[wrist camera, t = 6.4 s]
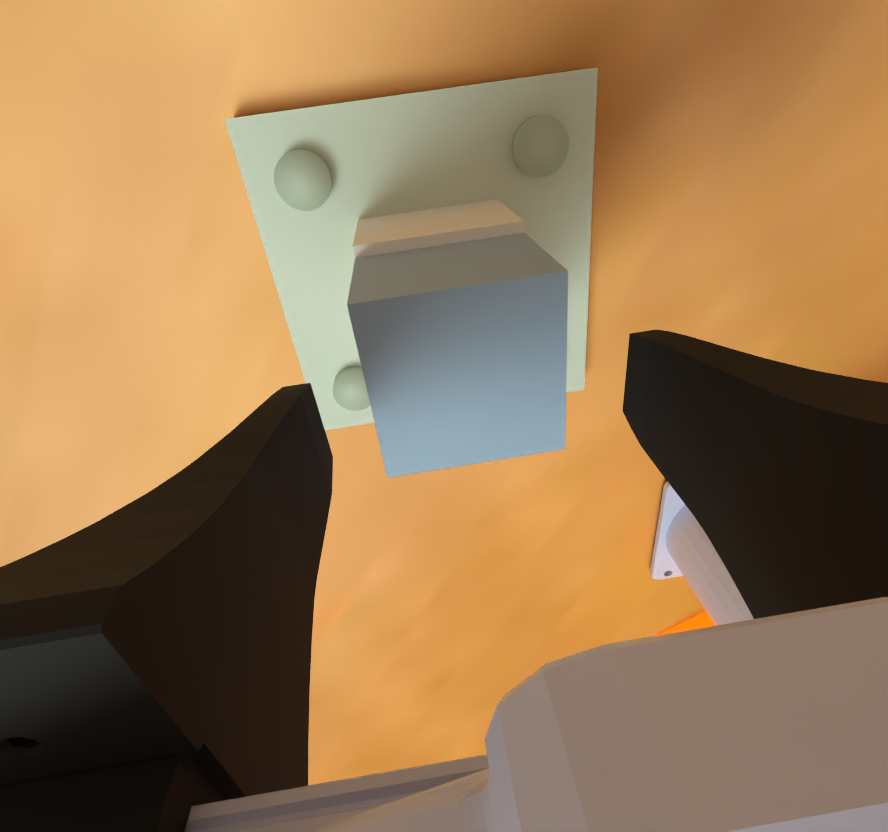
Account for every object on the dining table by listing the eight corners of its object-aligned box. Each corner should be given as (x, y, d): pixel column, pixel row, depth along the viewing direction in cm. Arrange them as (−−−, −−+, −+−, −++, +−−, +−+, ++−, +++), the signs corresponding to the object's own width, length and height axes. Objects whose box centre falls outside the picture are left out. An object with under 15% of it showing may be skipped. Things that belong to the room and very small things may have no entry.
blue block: (524, 232, 14) (568, 270, 11) (529, 381, 17) (565, 448, 14) (355, 258, 14) (346, 304, 11) (386, 404, 17) (387, 477, 14)
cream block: (496, 199, 18) (524, 221, 14) (503, 329, 20) (528, 373, 17) (358, 219, 17) (352, 246, 14) (383, 347, 20) (384, 396, 17)
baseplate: (587, 69, 17) (605, 65, 15) (576, 379, 23) (588, 396, 22) (232, 118, 16) (219, 119, 15) (322, 419, 23) (318, 438, 21)
